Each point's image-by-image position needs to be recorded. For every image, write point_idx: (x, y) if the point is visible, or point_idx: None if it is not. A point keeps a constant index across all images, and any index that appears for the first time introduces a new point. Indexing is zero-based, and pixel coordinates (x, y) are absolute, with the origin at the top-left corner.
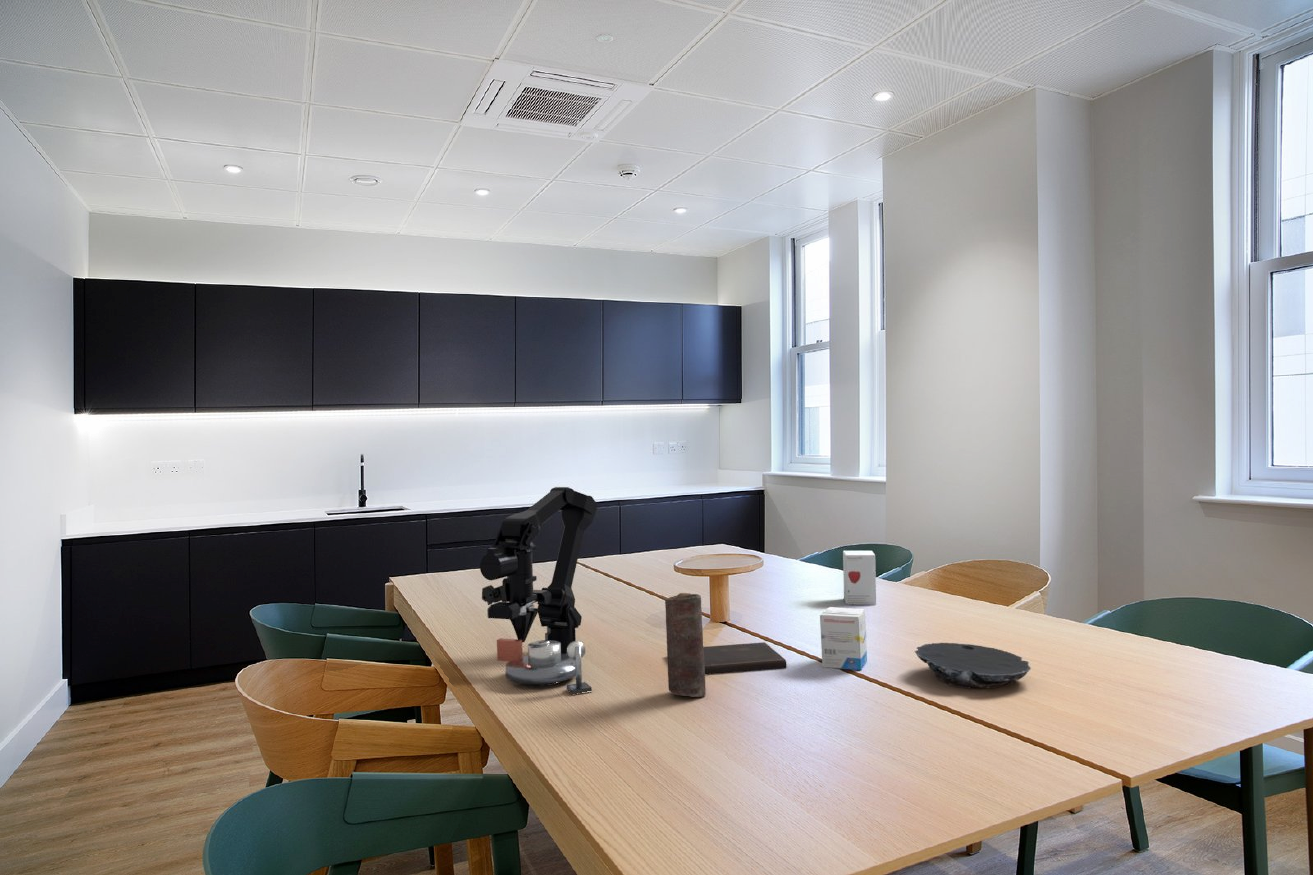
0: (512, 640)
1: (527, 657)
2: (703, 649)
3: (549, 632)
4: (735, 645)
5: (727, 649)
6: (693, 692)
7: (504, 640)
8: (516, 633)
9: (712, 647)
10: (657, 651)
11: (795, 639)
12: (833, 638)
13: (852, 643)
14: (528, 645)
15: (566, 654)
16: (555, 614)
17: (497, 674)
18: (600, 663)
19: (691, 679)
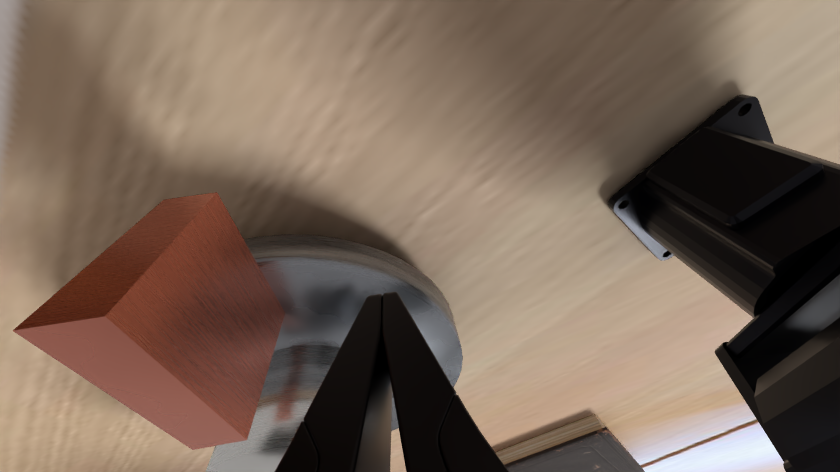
0: (171, 418)
1: (341, 301)
2: (603, 454)
3: (771, 223)
4: (627, 464)
5: (601, 467)
6: None
7: (100, 387)
8: (334, 367)
9: (617, 455)
10: (644, 385)
11: (691, 456)
12: None
13: None
14: (222, 467)
15: (453, 377)
16: (824, 447)
17: (228, 138)
18: (526, 356)
19: None
